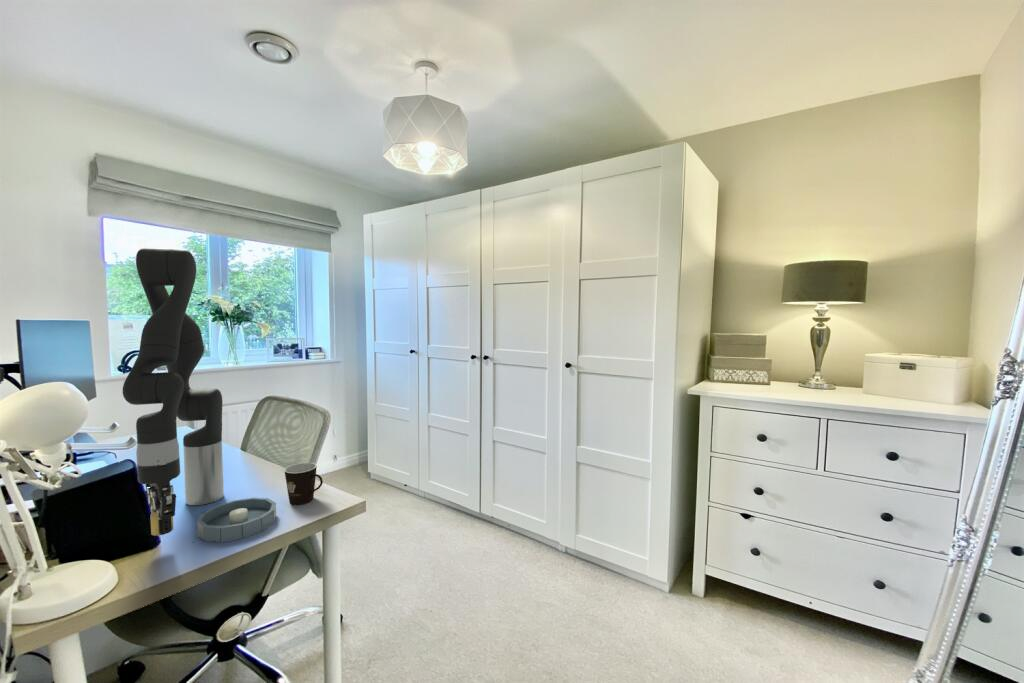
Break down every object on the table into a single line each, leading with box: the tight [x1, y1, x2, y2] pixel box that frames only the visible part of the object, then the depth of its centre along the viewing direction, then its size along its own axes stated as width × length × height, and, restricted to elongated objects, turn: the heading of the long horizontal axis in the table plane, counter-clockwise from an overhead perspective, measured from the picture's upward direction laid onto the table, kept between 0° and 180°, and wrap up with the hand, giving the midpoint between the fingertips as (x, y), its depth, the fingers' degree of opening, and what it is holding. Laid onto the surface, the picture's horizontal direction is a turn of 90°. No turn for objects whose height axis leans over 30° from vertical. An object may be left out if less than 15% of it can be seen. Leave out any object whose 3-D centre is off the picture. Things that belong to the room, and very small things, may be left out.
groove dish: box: [196, 497, 277, 543], centre depth 110 cm, size 17×17×4 cm
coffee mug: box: [283, 462, 324, 506], centre depth 124 cm, size 12×9×10 cm
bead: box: [149, 510, 174, 537], centre depth 98 cm, size 4×4×5 cm
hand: (162, 529), depth 98 cm, fingers closed on bead, 4 cm apart
